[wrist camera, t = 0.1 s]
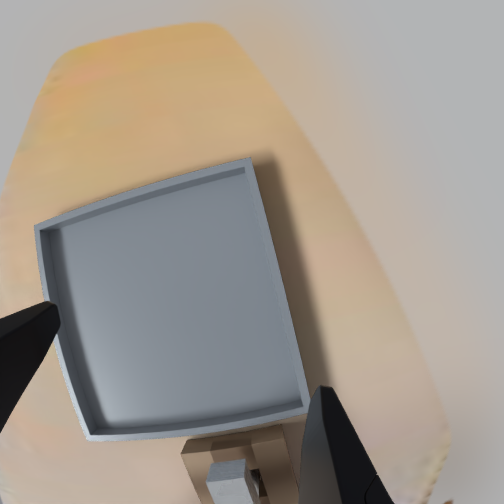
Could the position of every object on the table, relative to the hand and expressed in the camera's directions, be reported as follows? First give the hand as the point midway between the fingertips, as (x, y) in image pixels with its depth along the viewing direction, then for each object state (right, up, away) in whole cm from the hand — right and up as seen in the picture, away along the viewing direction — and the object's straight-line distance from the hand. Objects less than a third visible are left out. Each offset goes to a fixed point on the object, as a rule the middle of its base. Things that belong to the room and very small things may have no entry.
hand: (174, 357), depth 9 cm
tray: (-5, -2, +15) cm, 16 cm away
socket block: (+2, -15, +14) cm, 21 cm away
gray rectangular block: (+2, -15, +14) cm, 21 cm away
